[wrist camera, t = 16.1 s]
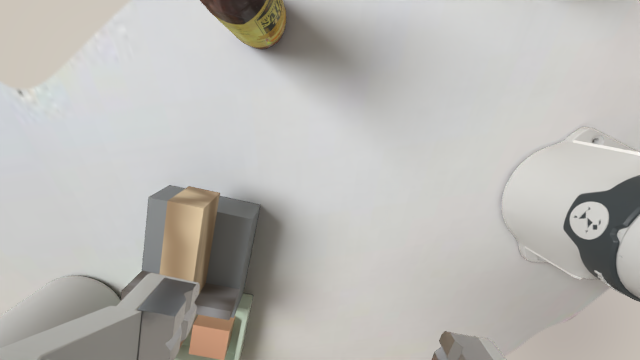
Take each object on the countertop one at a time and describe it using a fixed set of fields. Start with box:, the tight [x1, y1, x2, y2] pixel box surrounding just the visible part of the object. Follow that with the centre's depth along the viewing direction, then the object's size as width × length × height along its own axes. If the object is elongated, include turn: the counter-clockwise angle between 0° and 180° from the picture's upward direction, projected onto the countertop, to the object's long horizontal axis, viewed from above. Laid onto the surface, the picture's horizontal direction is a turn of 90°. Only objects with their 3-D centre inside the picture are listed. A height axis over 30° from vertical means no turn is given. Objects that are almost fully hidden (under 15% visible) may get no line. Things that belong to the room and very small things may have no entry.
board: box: [142, 185, 260, 318], centre depth 38 cm, size 12×14×5 cm
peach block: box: [189, 315, 235, 360], centre depth 42 cm, size 5×5×3 cm
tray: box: [174, 294, 253, 360], centre depth 42 cm, size 15×11×3 cm
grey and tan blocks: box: [121, 186, 240, 320], centre depth 33 cm, size 12×13×5 cm
